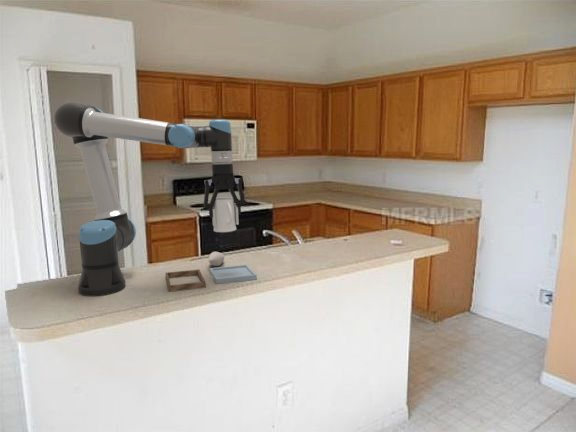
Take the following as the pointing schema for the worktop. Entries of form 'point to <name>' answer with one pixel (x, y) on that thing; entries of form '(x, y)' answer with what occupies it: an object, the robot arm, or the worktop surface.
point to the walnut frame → (186, 285)
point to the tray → (232, 274)
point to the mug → (224, 214)
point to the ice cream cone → (216, 258)
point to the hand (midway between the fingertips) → (225, 224)
